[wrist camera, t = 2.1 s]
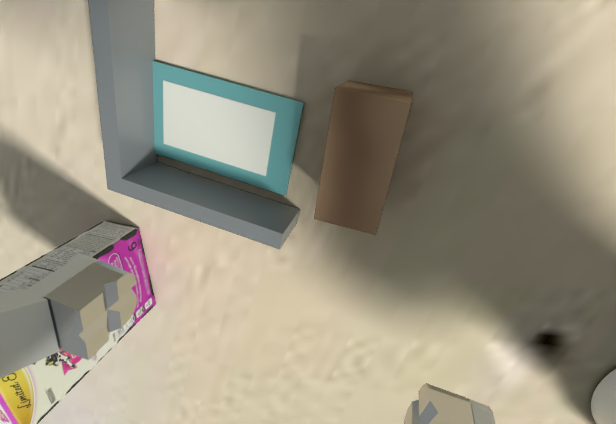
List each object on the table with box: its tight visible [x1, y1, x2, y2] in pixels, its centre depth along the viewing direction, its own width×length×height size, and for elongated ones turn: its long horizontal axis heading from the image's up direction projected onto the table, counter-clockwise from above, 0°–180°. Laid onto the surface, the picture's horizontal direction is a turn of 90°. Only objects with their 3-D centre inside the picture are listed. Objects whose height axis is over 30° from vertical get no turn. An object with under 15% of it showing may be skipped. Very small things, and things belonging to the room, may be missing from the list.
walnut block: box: [314, 81, 412, 235], centre depth 24 cm, size 4×9×5 cm, turn 173°
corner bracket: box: [88, 0, 304, 249], centre depth 26 cm, size 16×15×4 cm
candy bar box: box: [0, 221, 156, 424], centre depth 32 cm, size 11×5×16 cm, turn 179°
